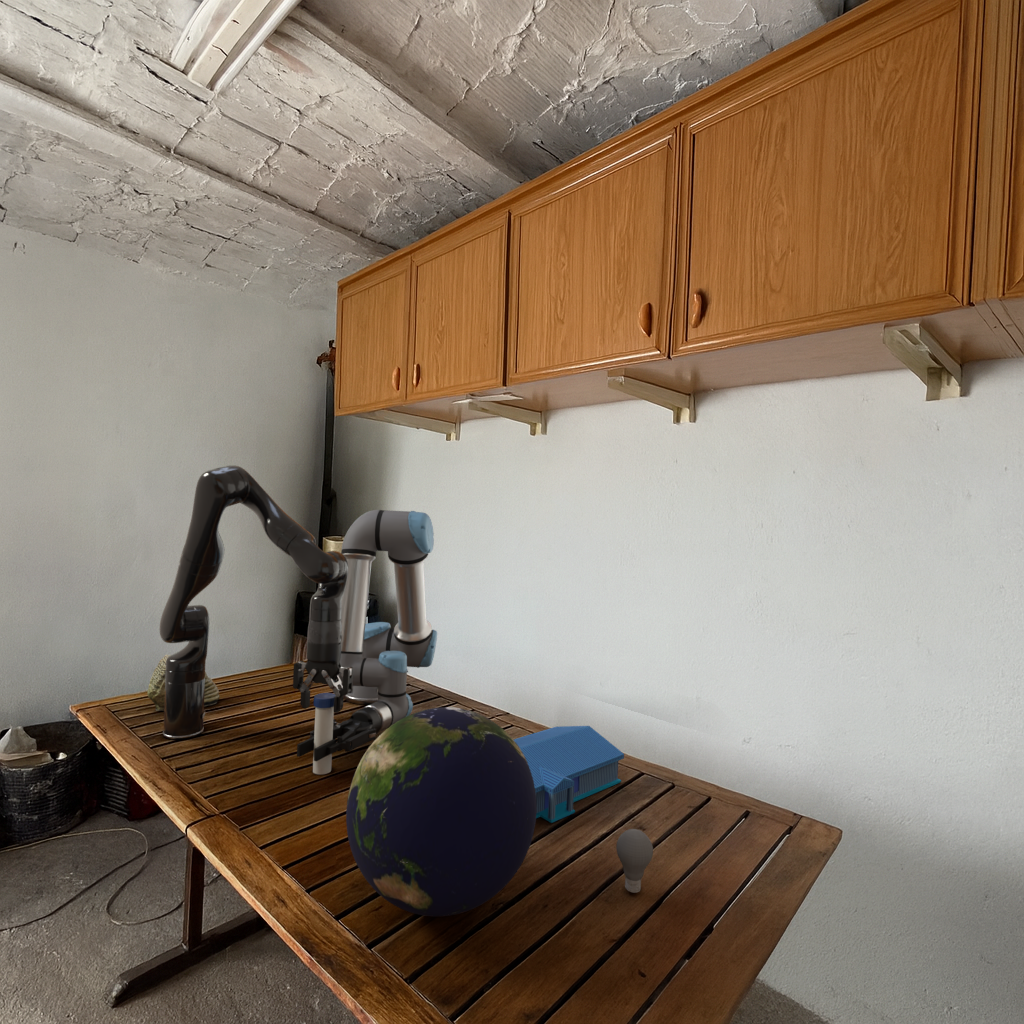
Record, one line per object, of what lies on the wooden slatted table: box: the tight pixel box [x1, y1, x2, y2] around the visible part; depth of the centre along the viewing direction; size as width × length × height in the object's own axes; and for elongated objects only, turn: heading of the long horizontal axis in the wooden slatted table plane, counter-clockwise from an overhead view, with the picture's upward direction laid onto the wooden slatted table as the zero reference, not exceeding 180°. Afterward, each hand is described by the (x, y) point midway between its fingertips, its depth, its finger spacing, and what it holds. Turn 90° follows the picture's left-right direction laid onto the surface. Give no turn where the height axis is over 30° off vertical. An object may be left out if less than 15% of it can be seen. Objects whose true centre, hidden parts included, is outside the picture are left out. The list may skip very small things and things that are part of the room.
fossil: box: [147, 654, 221, 712], centre depth 185 cm, size 9×18×15 cm, turn 132°
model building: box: [513, 725, 625, 824], centre depth 140 cm, size 39×24×10 cm, turn 132°
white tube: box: [312, 706, 335, 775], centre depth 146 cm, size 4×4×17 cm
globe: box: [345, 706, 537, 918], centre depth 101 cm, size 30×30×30 cm
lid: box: [313, 692, 335, 708], centre depth 146 cm, size 5×5×2 cm
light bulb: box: [615, 828, 654, 894], centre depth 106 cm, size 6×6×10 cm
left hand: (321, 709), depth 145 cm, fingers open, 7 cm apart
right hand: (307, 752), depth 141 cm, fingers closed on white tube, 4 cm apart
